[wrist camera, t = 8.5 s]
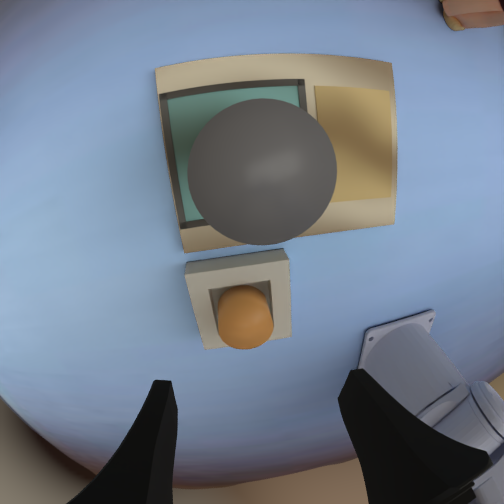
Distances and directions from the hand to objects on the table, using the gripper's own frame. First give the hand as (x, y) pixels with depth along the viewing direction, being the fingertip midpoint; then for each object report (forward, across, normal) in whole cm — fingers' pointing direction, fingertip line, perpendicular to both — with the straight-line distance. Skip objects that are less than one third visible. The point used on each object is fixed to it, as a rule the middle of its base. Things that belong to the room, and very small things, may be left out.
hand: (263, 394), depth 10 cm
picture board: (+9, -2, -9) cm, 13 cm away
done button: (+8, 0, +1) cm, 8 cm away
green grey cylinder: (+9, 0, -8) cm, 12 cm away
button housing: (+9, 0, +1) cm, 10 cm away
